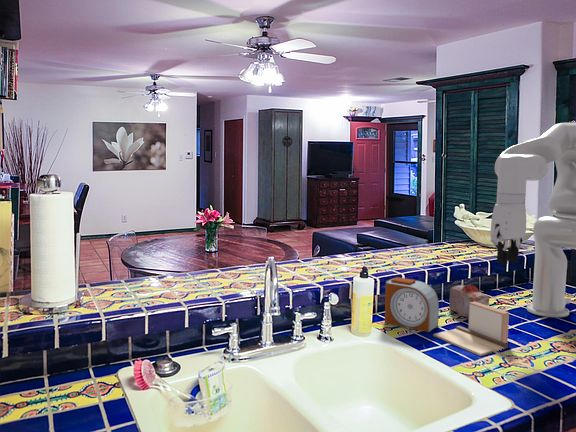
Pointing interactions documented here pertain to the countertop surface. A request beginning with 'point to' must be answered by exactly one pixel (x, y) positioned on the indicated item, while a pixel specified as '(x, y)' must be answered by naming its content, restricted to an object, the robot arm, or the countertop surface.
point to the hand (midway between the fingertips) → (507, 262)
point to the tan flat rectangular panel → (468, 342)
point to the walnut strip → (483, 336)
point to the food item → (465, 299)
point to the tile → (488, 321)
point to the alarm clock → (411, 304)
